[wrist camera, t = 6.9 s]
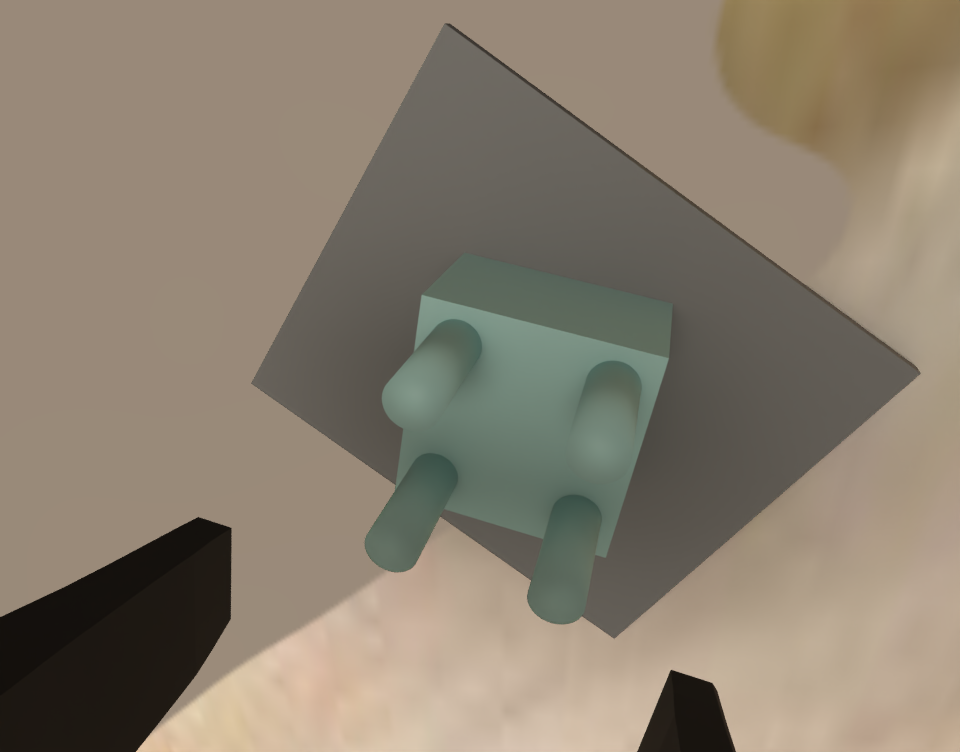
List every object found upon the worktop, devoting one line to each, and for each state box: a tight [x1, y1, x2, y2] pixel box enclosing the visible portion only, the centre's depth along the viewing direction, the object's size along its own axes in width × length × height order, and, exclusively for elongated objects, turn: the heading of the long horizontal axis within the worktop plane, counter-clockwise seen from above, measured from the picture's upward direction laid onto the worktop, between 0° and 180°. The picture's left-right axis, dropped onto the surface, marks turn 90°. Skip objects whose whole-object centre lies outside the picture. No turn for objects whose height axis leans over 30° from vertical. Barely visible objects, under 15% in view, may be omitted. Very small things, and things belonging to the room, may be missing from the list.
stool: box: [365, 253, 673, 624], centre depth 17 cm, size 6×6×6 cm
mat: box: [252, 24, 921, 638], centre depth 20 cm, size 14×12×1 cm
